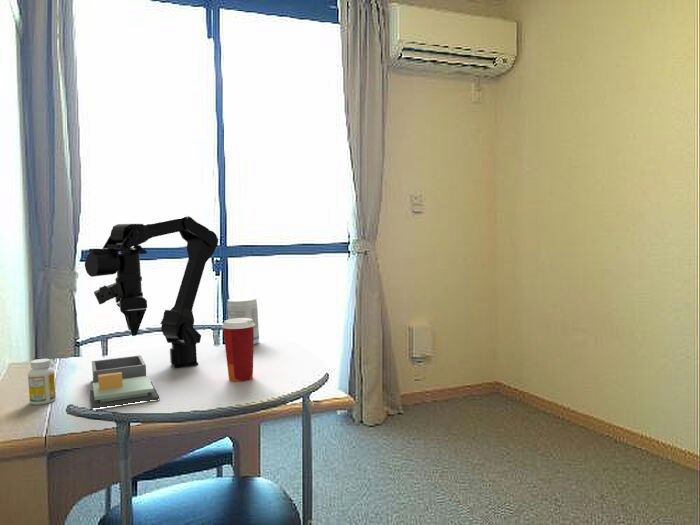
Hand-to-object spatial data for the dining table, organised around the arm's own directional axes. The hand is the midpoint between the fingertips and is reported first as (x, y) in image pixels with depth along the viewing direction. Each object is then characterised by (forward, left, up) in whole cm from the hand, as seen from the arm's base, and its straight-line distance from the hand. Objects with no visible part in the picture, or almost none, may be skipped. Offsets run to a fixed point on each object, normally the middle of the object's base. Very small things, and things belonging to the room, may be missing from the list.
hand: (132, 332), depth 154 cm
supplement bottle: (+21, +10, -12) cm, 26 cm away
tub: (+4, +2, -12) cm, 13 cm away
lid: (+4, +16, -10) cm, 20 cm away
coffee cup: (-24, +15, -12) cm, 31 cm away
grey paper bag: (-36, -26, -12) cm, 46 cm away
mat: (+4, +16, -12) cm, 21 cm away
